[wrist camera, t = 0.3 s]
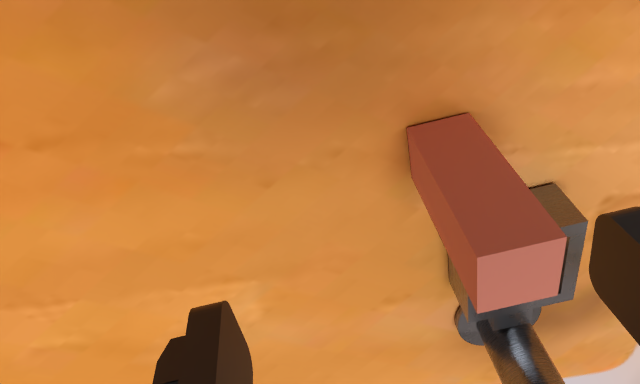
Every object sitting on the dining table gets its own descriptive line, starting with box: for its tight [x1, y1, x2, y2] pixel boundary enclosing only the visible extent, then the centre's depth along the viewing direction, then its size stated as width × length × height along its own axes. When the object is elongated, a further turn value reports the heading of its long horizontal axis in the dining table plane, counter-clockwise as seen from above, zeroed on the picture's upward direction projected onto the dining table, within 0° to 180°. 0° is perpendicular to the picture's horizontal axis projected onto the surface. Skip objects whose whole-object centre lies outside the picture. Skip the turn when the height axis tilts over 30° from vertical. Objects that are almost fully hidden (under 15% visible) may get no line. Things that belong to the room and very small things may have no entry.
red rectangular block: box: [407, 113, 567, 314], centre depth 26 cm, size 4×4×11 cm
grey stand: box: [448, 183, 588, 384], centre depth 30 cm, size 16×14×20 cm
